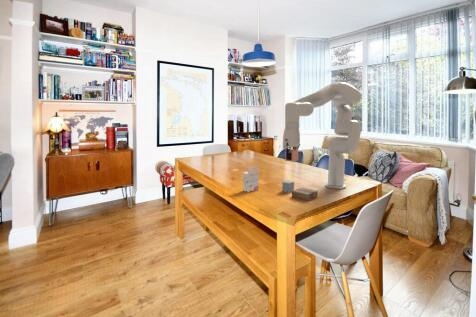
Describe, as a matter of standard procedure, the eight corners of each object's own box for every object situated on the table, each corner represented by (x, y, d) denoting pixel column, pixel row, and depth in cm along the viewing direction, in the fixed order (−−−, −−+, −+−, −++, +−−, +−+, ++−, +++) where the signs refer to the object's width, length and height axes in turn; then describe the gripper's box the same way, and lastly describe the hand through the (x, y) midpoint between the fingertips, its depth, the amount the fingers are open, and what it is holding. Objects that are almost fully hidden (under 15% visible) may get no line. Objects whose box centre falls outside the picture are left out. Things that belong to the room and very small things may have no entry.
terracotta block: (290, 159, 143) (290, 149, 142) (298, 160, 140) (298, 149, 139) (285, 160, 140) (285, 150, 139) (292, 161, 136) (293, 150, 135)
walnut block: (302, 193, 149) (302, 187, 149) (317, 197, 142) (317, 190, 141) (291, 197, 143) (292, 190, 142) (307, 201, 135) (307, 194, 135)
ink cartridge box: (253, 188, 161) (253, 165, 159) (258, 190, 157) (258, 166, 155) (242, 190, 156) (242, 167, 154) (247, 192, 152) (247, 168, 150)
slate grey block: (287, 189, 157) (287, 180, 156) (293, 191, 154) (294, 181, 153) (282, 191, 154) (282, 181, 153) (289, 193, 150) (289, 183, 149)
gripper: (295, 125, 145) (294, 156, 148) (276, 126, 134) (276, 160, 137) (306, 125, 140) (306, 157, 143) (288, 127, 128) (288, 162, 131)
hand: (291, 158), depth 140 cm, fingers closed on terracotta block, 5 cm apart
